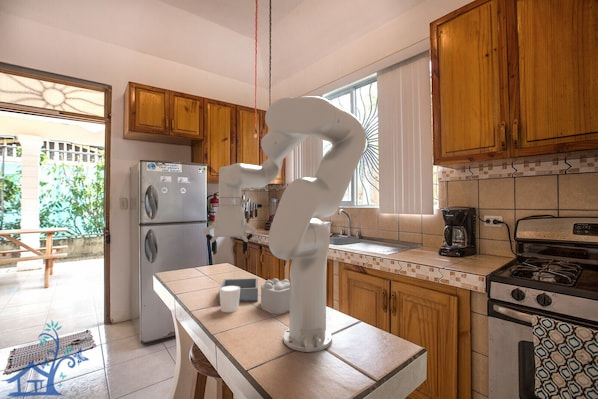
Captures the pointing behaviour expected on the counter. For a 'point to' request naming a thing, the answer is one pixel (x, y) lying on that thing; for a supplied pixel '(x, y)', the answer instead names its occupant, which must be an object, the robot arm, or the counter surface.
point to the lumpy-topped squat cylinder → (275, 296)
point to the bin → (244, 288)
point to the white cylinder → (229, 298)
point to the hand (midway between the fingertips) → (229, 253)
